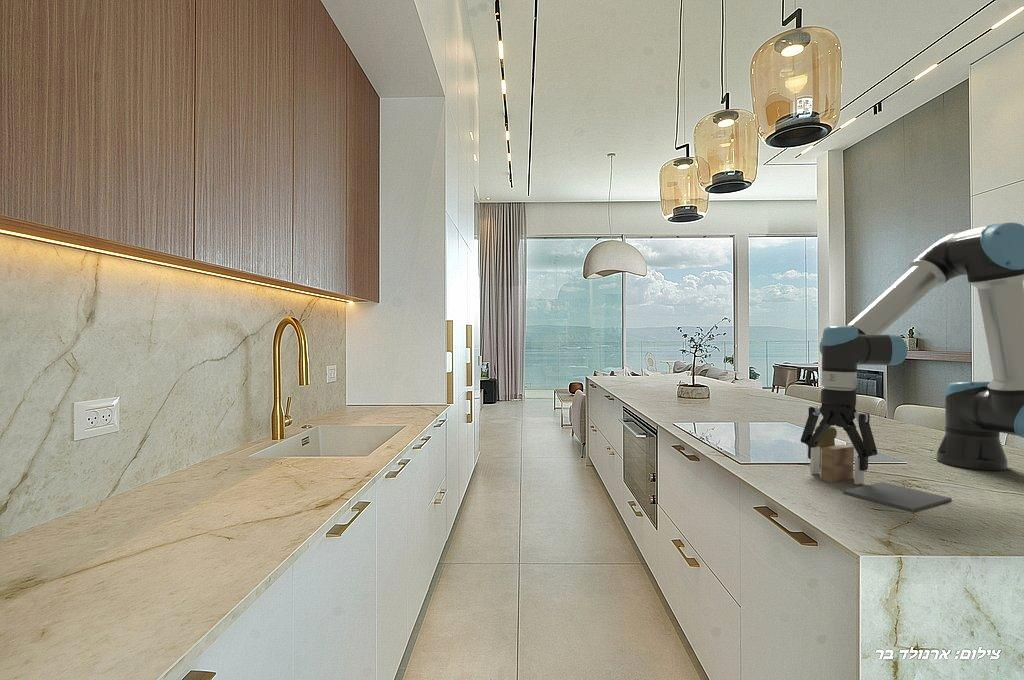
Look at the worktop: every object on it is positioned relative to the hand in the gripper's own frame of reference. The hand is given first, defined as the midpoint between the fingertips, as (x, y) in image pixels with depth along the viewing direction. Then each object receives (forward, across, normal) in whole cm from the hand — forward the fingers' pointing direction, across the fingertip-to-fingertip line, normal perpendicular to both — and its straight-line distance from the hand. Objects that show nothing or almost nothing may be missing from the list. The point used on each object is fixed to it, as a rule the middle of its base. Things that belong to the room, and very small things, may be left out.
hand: (836, 477), depth 135 cm
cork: (0, -9, +10) cm, 14 cm away
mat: (0, +15, -3) cm, 15 cm away
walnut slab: (0, 0, 0) cm, 0 cm away
